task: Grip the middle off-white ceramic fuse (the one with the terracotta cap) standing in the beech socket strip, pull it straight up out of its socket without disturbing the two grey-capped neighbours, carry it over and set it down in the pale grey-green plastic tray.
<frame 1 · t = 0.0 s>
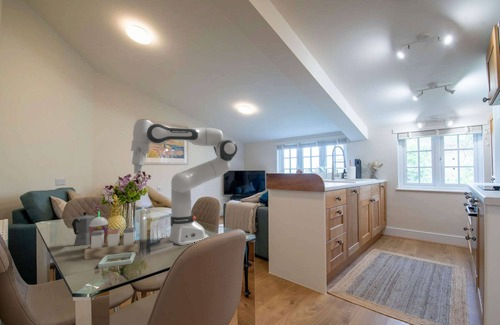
hand: (137, 173, 125), 39 cm above the table, tool pointing down, fingers open, 8 cm apart
tray: (118, 264, 97), on the table
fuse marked: (113, 253, 107), point 1 cm above the table, touching socket strip
socket strip: (113, 256, 106), on the table
smoothie: (98, 252, 114), on the table
fuse 1: (97, 255, 104), point 1 cm above the table, touching socket strip
coffeepot: (83, 246, 124), on the table
fuse 2: (129, 251, 109), point 1 cm above the table, touching socket strip
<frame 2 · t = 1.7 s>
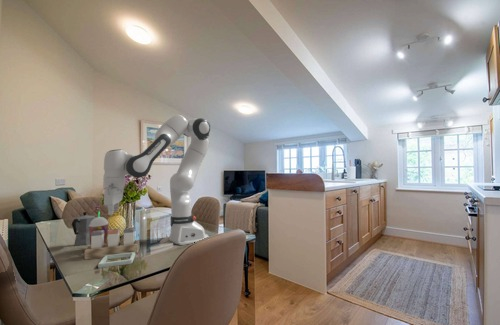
hand: (113, 212, 107), 21 cm above the table, tool pointing down, fingers open, 8 cm apart
nothing on the table moved.
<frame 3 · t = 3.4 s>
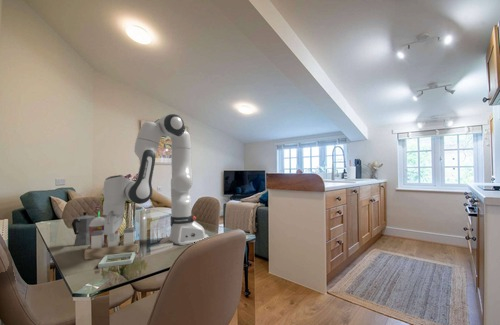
hand: (113, 239, 107), 8 cm above the table, tool pointing down, fingers closed on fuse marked, 4 cm apart
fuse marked: (113, 253, 107), point 1 cm above the table, touching gripper, socket strip
everything else where it was.
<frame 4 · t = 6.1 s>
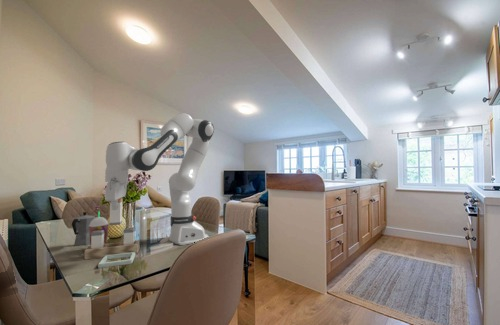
hand: (116, 208, 101), 23 cm above the table, tool pointing down, fingers closed on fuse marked, 4 cm apart
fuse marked: (115, 224, 100), point 17 cm above the table, touching gripper
everything else where it was.
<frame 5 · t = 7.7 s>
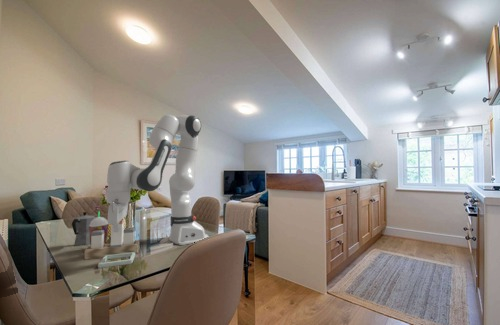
hand: (117, 230, 98), 15 cm above the table, tool pointing down, fingers closed on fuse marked, 4 cm apart
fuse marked: (117, 246, 97), point 8 cm above the table, touching gripper
everything else where it was.
when the fingers open (9 cm above the table, at t = 8.9 s): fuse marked drops 2 cm, resting on tray.
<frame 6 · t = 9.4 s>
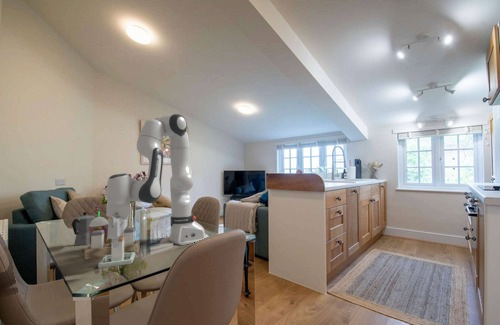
hand: (118, 243, 98), 9 cm above the table, tool pointing down, fingers open, 8 cm apart
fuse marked: (117, 263, 97), point 1 cm above the table, touching tray
everything else where it was.
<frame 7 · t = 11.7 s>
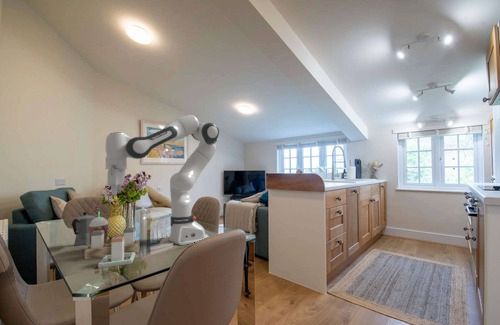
hand: (116, 194, 110), 29 cm above the table, tool pointing down, fingers open, 8 cm apart
nothing on the table moved.
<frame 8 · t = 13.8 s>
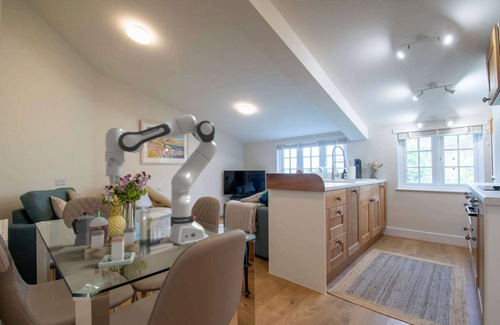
hand: (114, 184, 121), 33 cm above the table, tool pointing down, fingers open, 8 cm apart
nothing on the table moved.
at the end: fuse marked inside the target area on the tray (0.1 cm from its centre), point 0.6 cm above the tray's base; fuse 2 moved 0.0 cm from its start; fuse 1 moved 0.0 cm from its start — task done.
